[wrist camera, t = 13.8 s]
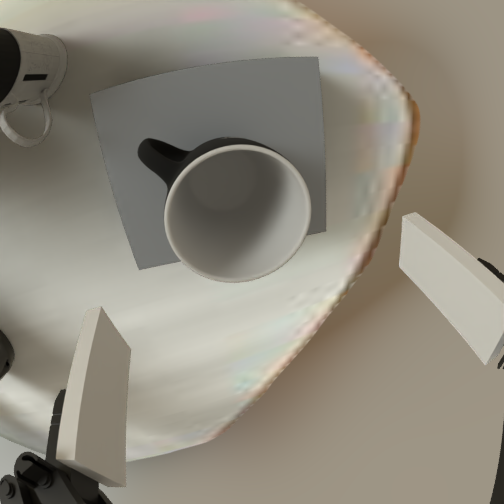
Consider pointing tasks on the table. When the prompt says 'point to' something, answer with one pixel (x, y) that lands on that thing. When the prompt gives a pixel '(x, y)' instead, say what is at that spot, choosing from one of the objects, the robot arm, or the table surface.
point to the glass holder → (29, 76)
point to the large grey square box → (208, 133)
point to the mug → (230, 206)
